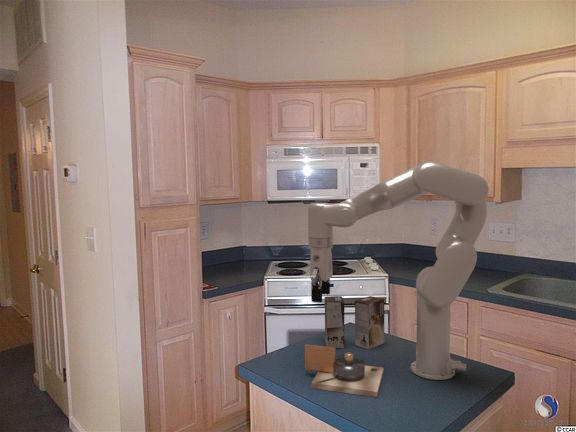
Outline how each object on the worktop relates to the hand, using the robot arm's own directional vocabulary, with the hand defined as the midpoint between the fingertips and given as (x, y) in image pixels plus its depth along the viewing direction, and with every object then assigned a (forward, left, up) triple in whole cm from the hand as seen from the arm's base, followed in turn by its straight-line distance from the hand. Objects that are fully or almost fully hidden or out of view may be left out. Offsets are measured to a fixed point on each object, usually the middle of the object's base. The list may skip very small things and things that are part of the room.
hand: (320, 297), depth 136 cm
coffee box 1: (0, -19, -22) cm, 29 cm away
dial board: (-10, +8, -21) cm, 25 cm away
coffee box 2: (-12, -22, -22) cm, 33 cm away
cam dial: (-6, +8, -20) cm, 22 cm away
